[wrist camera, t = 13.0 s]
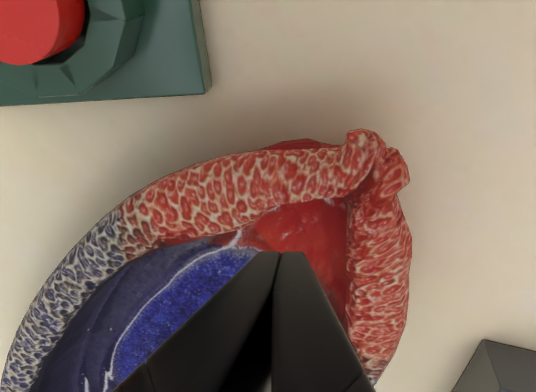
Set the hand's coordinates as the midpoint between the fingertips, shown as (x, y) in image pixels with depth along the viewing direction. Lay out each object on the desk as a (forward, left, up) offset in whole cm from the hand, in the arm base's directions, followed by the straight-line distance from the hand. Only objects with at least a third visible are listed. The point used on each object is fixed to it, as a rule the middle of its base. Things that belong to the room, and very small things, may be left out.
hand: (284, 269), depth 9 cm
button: (+5, -9, -9) cm, 13 cm away
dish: (+13, +7, -12) cm, 19 cm away
